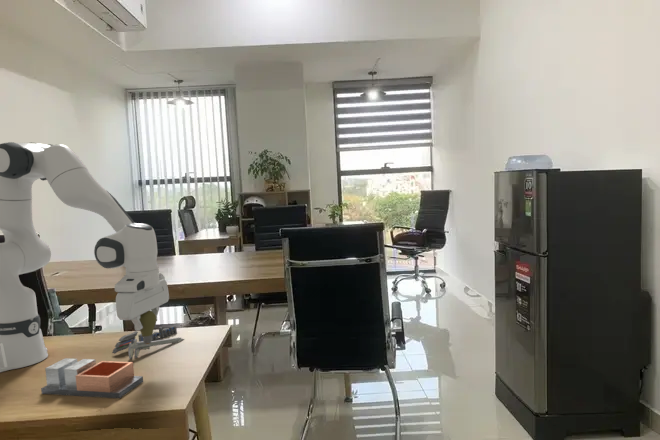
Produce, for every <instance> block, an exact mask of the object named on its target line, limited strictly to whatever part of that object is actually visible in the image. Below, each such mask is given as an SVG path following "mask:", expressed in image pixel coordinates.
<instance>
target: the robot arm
mask: <svg viewBox="0 0 660 440" xmlns="http://www.w3.org/2000/svg"><path fill="white" fill-rule="evenodd" d="M39 179H40V180H41V181H47V182H48V184H49V186H50V187H51V189H52V191H53V193H54V194H55V196H56V197H57V198H58V199H59V200H60V201H61V202H63V204H64V205H66V206H68V207H71V208H74V209H80V210H86V211H89V212H92V213H95V214H98V215H100V216H101V217H103V219H105V220H106V221H107V223H108V224H109V225H110V226H111V228H112V229H113V230H114V232H115V233H112V234H109V235H107V236H104V237H102V238H100V239H98V240H97V242H96V244H95V246H94V250H93V254H94V258H95V261H96V262H97V264H98V265H100V266H101V268H104V269H117V268H121V267H124V268H125V275H123V277H122V278H121V279H120V280H119V281H118V282H116V283H115V284H114V292H116V293H117V294H116V296H115V309H116V310H115V311H116V316H117V318H118V319H119V320H121V321H131V322H132V323H133V325H134V327H133V328H134V330H135V331H137V332H139V331H140V330H141V329H143V323H141V322H140V320H139V319H140V315H141V314H143V313H145V312H147V311H152V312H153V313H154V314H155V315H156V322H157V321H158V314H159V311H160V306H162V305H164V304H166V303H168V302H169V300H170V294H169V288H168V283H167V280H166V278H165V275H164V274H162V273H160V270H159V269H160V268H159V264H158V261H157V260H158V259H157V257H158V243H157V237H156V236H157V235H156V232H155V230H154V228H153V226H152V225H150V224H148V223H143V222H141V223H139V222H138V223H137V222H135V221H134V220H133V218H132V217H131V216H130V215H129V214H128V212H127V211H126V210H125V208H124V207H123V206H122V205H121V204H120V203H119V201H118V200H117V199H116V198H115V196H113V195H112V193H110V192H109V191H108V190H107V189H105V188H104V187H103V186H102V185H101V184H100V183H99V182H98V181H97V180H96V179H95V178H94V177H93V175H92V174H91V172H90V171H89V169H88V168H87V166H86V165H85V164H84V162H83V161H82V160H81V159H80V157H79V156H78V155H77V153H75V152H74V151H73V149H71V148H70V147H69V146H68V145H65V144H59V143H58V144H50V143H48V144H46V143H40V142H12V141H9V142H2V143H0V231H1V232H2V234H3V236H4V242H0V373H3V372H6V371H9V370H10V371H11V370H15V369H21V368H24V367H28V366H32V365H35V364H37V363H40V362H42V361H44V360H45V359H47V358H48V356H49V353H48V348H47V347H46V346H45V341H44V336H43V332H42V329H41V317H40V314H39V313H38V306H37V305H38V304H37V297H36V292H35V291H34V290H33V289H32V288H29V287H27V286H25V285H24V284H23V283H22V282H21V280H20V277H19V276H20V275H23V274H29V273H32V272H36V271H38V270H39V269H41V268H43V267H45V266H47V265H48V264H49V262H50V261H51V257H52V252H51V251H52V250H51V248H50V246H49V245H48V244H47V242H46V241H44V240H43V239H41V238H40V236H39V235H38V233H37V232H36V230H35V227H34V222H33V190H32V188H33V184H34V183H35V181H37V180H39Z"/></svg>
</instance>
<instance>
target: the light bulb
mask: <svg viewBox="0 0 660 440" xmlns="http://www.w3.org/2000/svg"><path fill="white" fill-rule="evenodd" d="M139 320H140V322H141V323H143V329H141V330H139V331H140V334H142V336H143V342H144V343H146V344H150V342H151V341H152V334H153V333H154V329H155V326H156V324H157V321H156V315H155V314H154V313H153V312H152V311H151V310H150V311H147V312H145V313H143V314H141V315H140V319H139Z"/></svg>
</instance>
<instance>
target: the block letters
mask: <svg viewBox="0 0 660 440" xmlns="http://www.w3.org/2000/svg"><path fill="white" fill-rule="evenodd" d="M138 333H139V331H136V330H135V331H134V332H132V333H128V334H125V335H122V336H121V337H120V338H119V339H118V341H117V342H116V344H115V346H114V349H113V350H112V352H111V353H112V354H114V355H115V354H117V353H118V352H121V351H123V350H127V349H128V348H129V343H131V339H132V340H135V339H136V336H137V335H138V342H141V341H143V336H142V334H141V333H139V334H138ZM177 333H178V330H177V326H174V325H171V326H168V327H167V328H166V327H165V328H164V327H161V326H159V327H158V331H153V334H152V341H157V340H162V339H164V338H165V339H166V337H167V338H168V337H169V336H172V335H174V334H177Z"/></svg>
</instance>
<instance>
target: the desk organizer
mask: <svg viewBox="0 0 660 440" xmlns="http://www.w3.org/2000/svg"><path fill="white" fill-rule="evenodd" d="M44 370H45V378H46V385H45V386H43V387H40V390H41V395H42V394H43V395H54V396H56V395H57V396H58V395H59V396H74V397H90V398H104V399H105V398H109V399H121V398H122V397H124V396H125V395H127V394H128V393H130V392H131V391H132V390H134V389H136V388H137V387H138V386H140V385H141V384H142V383H144V376H142V375H141V376H140V375H135V368H134V361H115V360H114V361H111V360H109V361H108V360H101V361H100V362H96V359H93V358H92V359H91V358H82V359H81V360H79V361H78V358H67V357H65V358H63V359H61V360H59V361H57V362H55V363H53V364H50V365H49V366H47V367H45V368H44Z"/></svg>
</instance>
